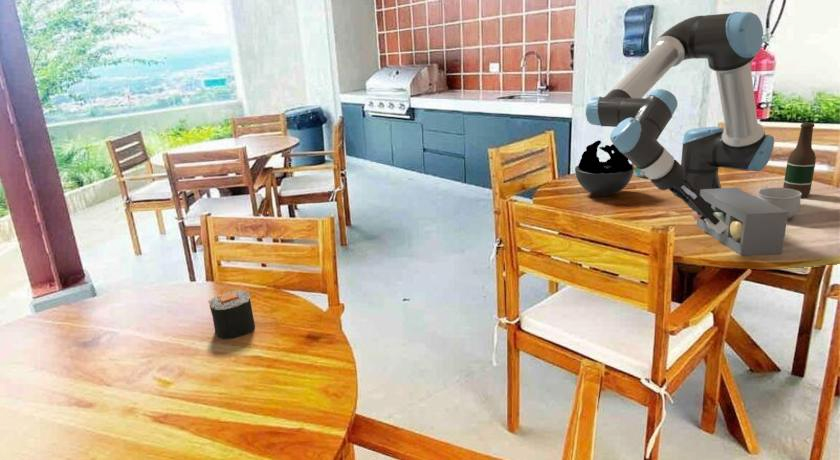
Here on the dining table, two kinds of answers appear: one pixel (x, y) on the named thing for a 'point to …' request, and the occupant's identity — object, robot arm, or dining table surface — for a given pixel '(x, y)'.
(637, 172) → the cupcake
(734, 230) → the ochre button
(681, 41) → the robot arm
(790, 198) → the teacup
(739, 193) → the console
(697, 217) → the terracotta button
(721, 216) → the sage button
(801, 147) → the beer bottle
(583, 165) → the bowl of black rocks
